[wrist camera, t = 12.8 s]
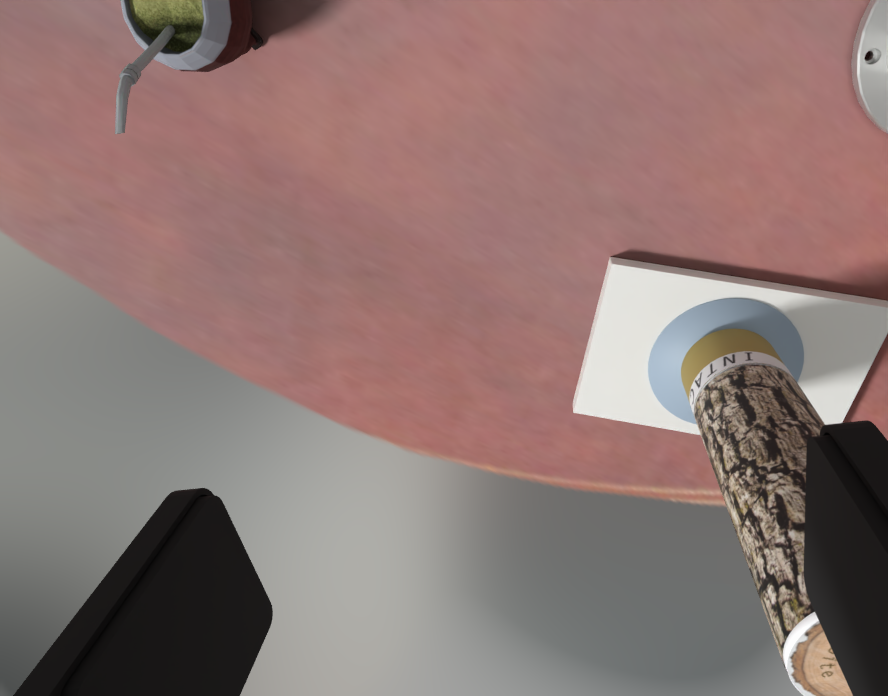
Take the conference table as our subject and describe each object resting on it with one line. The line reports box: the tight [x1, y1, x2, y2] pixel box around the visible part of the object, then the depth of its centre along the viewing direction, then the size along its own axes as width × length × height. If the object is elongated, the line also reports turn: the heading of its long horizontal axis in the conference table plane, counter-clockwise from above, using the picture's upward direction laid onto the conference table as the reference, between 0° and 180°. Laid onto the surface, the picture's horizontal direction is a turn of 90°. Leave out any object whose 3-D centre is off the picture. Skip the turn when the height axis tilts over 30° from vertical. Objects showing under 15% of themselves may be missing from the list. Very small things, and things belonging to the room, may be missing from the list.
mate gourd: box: [115, 0, 263, 134], centre depth 37 cm, size 8×8×15 cm
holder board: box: [573, 257, 888, 435], centre depth 49 cm, size 20×13×2 cm, turn 83°
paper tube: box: [681, 328, 853, 696], centre depth 37 cm, size 7×7×25 cm
